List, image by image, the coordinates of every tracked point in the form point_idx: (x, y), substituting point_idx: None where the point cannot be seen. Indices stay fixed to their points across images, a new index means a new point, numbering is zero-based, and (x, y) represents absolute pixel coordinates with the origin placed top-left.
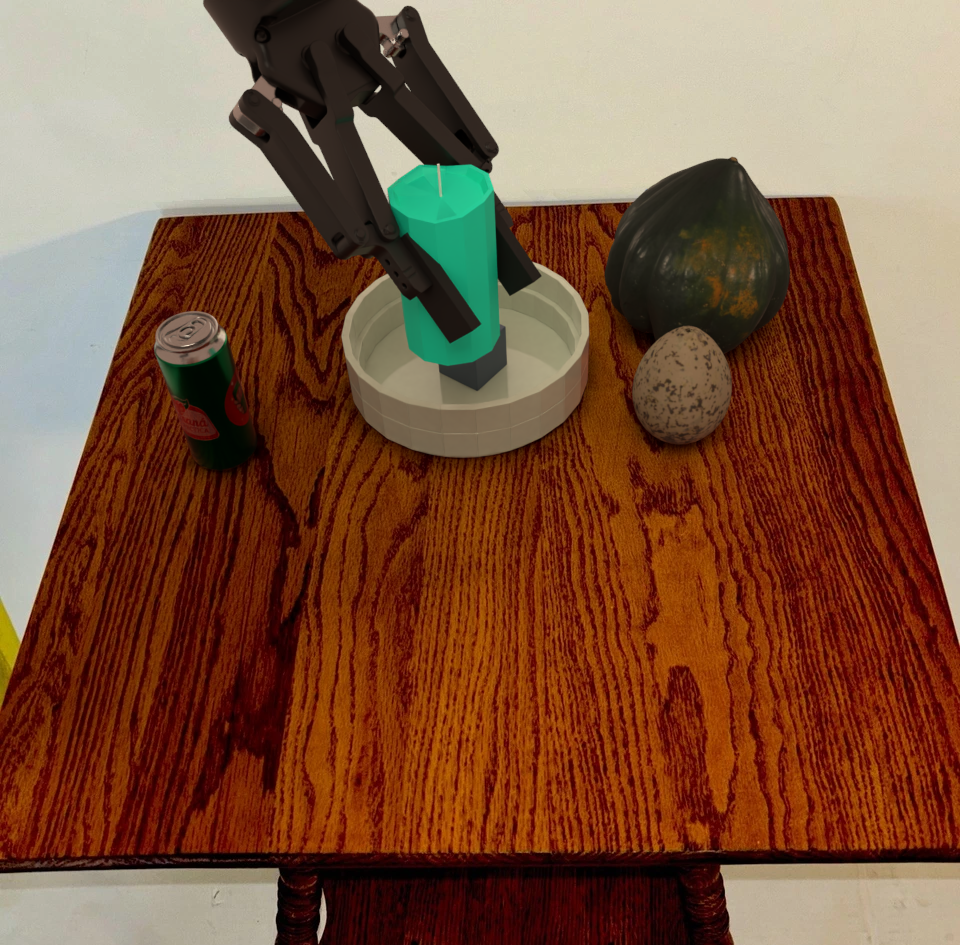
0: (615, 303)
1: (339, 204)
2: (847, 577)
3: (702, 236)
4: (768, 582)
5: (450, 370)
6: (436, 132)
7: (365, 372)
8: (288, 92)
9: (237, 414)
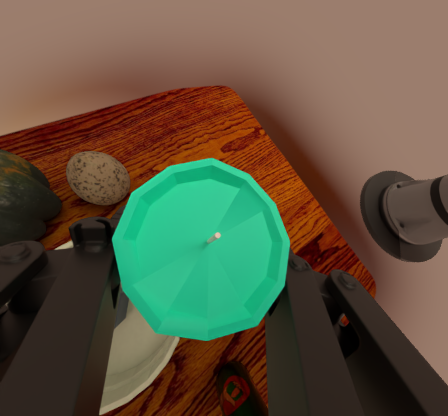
0: None
1: (388, 336)
2: (160, 116)
3: None
4: (176, 137)
5: (125, 309)
6: (64, 353)
7: (145, 358)
8: None
9: (240, 381)
